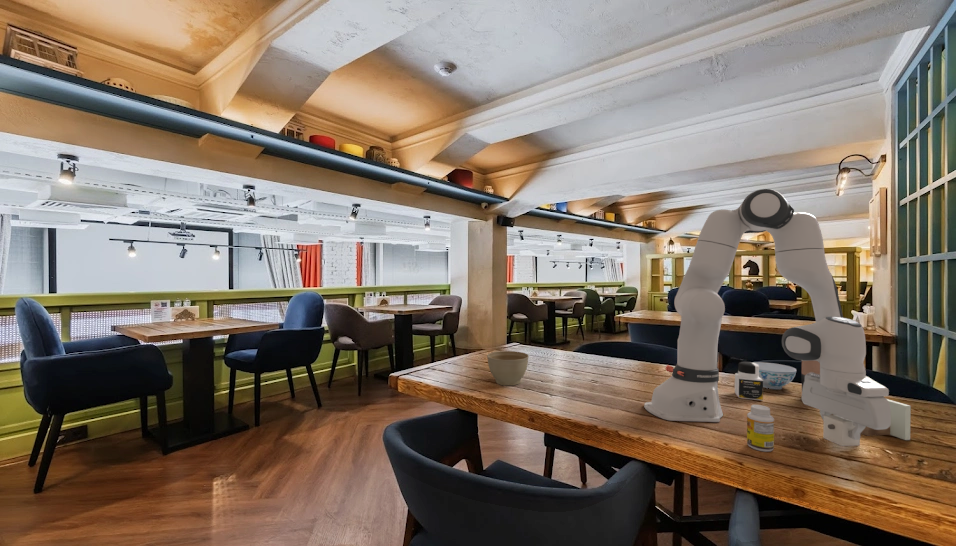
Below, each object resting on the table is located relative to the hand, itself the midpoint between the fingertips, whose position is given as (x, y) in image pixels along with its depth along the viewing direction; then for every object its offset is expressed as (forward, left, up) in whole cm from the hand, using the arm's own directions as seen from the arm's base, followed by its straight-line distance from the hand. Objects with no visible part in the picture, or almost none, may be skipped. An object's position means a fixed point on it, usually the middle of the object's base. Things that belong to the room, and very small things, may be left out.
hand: (841, 433), depth 106 cm
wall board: (+18, +8, -2) cm, 20 cm away
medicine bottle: (+5, +37, -2) cm, 37 cm away
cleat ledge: (+14, +8, -2) cm, 16 cm away
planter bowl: (-76, +63, -2) cm, 99 cm away
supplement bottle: (-24, -1, -2) cm, 24 cm away
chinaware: (+23, +47, -2) cm, 52 cm away
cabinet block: (0, 0, -2) cm, 2 cm away
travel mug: (+25, +31, -2) cm, 40 cm away
